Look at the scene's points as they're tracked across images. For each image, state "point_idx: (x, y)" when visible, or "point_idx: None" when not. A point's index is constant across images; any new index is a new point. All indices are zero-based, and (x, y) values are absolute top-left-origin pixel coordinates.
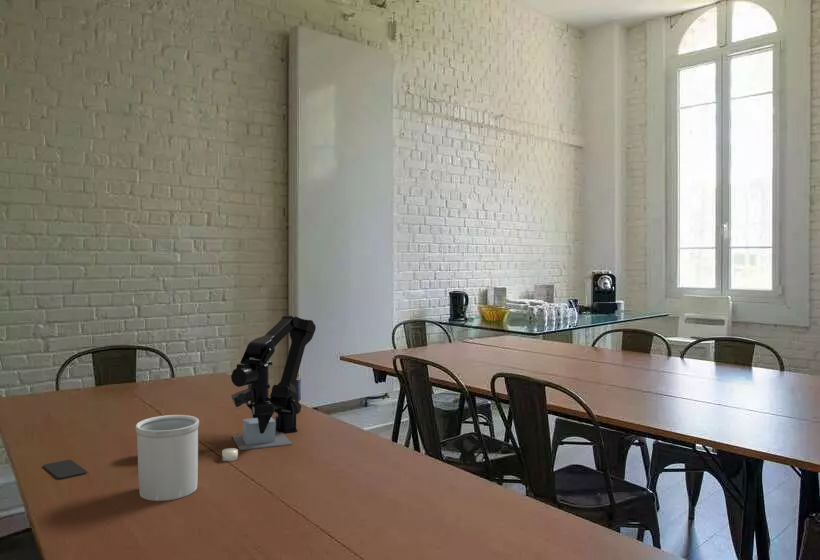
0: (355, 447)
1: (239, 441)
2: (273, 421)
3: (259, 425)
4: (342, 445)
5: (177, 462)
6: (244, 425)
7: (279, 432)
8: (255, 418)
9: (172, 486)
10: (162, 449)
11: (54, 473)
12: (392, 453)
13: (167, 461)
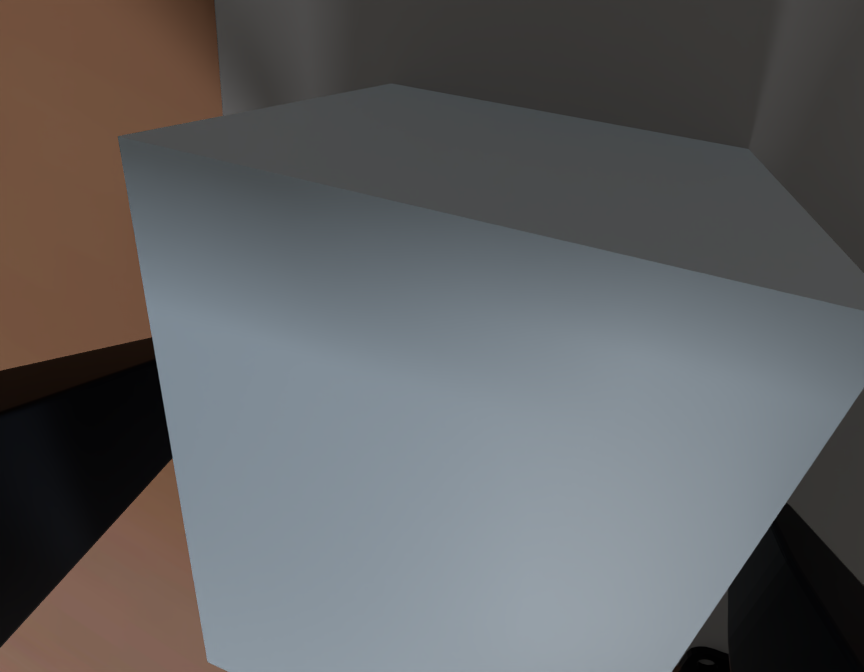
0: (119, 657)
1: (648, 33)
2: (210, 647)
3: (29, 370)
4: (164, 651)
5: None
6: (526, 185)
7: (692, 648)
8: (639, 623)
9: None
10: None
11: None
12: (23, 667)
13: None
